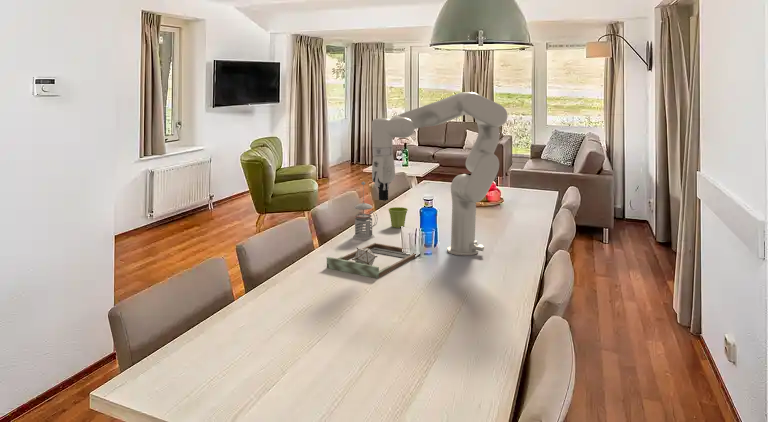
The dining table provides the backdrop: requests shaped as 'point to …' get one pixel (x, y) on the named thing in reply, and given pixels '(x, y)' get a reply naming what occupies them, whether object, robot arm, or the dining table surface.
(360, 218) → the french press
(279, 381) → the dining table surface
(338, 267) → the shallow open box
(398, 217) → the plant pot
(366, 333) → the dining table surface
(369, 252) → the game die
